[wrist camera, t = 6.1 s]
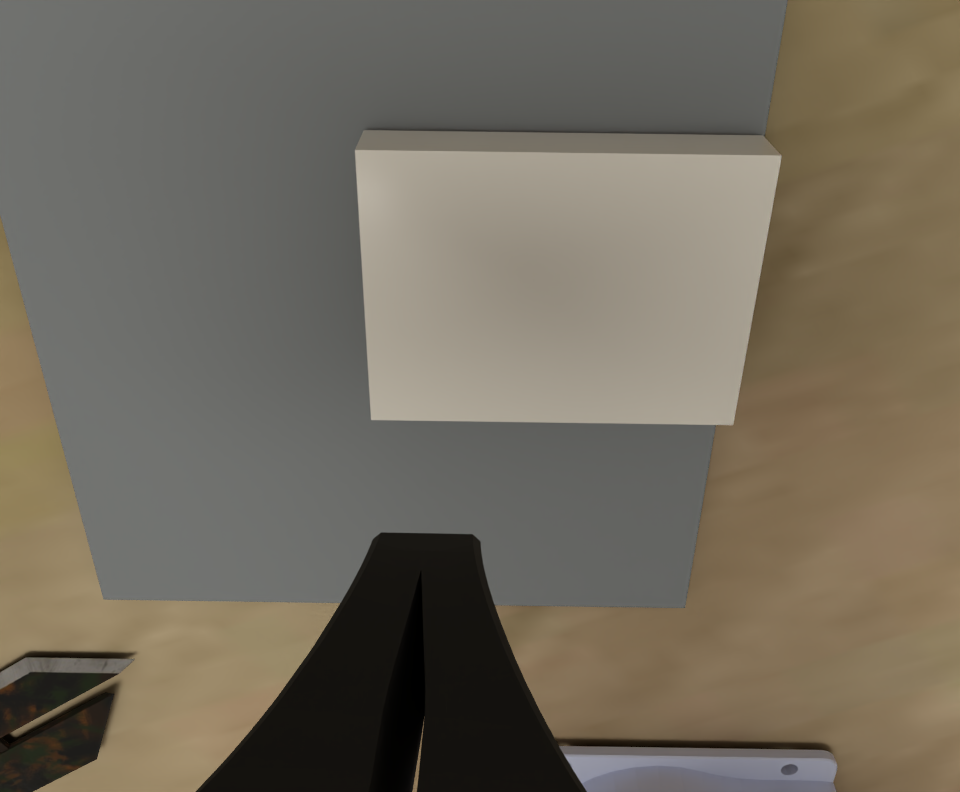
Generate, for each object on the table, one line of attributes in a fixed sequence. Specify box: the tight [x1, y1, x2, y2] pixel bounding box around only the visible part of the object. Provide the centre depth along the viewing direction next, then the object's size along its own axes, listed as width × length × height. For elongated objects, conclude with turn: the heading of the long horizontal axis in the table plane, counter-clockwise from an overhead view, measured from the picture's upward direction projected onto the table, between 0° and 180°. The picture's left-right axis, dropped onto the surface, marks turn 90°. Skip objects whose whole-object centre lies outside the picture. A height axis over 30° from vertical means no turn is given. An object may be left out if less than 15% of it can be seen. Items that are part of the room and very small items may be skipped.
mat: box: [0, 0, 788, 608], centre depth 21 cm, size 16×16×1 cm
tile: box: [355, 130, 782, 425], centre depth 19 cm, size 2×6×8 cm
